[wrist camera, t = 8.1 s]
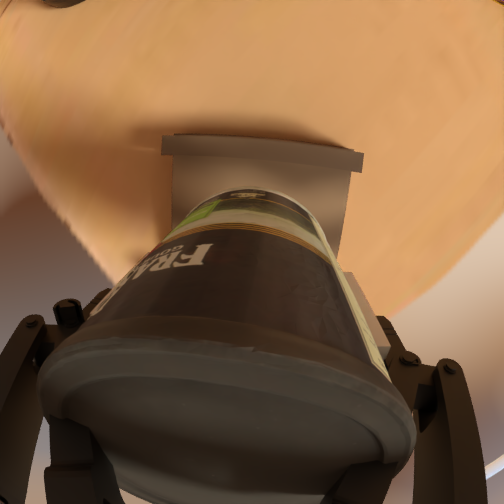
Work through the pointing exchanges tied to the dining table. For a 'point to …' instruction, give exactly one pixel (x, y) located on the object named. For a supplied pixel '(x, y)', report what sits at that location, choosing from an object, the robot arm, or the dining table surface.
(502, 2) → the candy box
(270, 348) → the coffee can
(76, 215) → the dining table surface
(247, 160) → the stand
